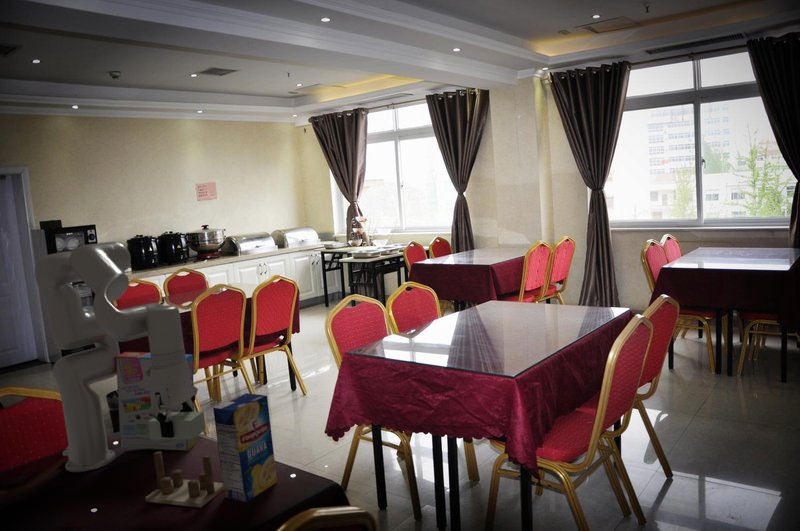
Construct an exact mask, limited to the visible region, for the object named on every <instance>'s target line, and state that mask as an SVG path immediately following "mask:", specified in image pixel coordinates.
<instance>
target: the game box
mask: <svg viewBox="0 0 800 531" xmlns="http://www.w3.org/2000/svg"><path fill="white" fill-rule="evenodd" d="M185 357H186V360H187V363H188V366H189V369H190V373H191V378H192V384H193V386H195V385H194V358H193V357H194V354H188V353H185ZM116 365H117V375H116V380H117V382H116V383H117V401H118V403H117V404H118V424H119V426H118V427H119V448H127V449H128V448H129V449H142V450H143V449H147V450H160V451H162V450H163V451H164V450H166V451H182V452H183V451H184V452H188V451H190V450H191V449H192V448H193V447H194V446H195V445H196V437H195V438H194V439H171V440H151V439H150V432H149V425H148V421H150V420H151V419H153V418H154V417H153V416H152V415H151V414H150V413H149V409H150V407H151V398H150V369H151V368H153V367H152V360H151V353H150V352H143V351H141V352H140V351H137V352H136V351H124V352H122V353H120V355H117V356H116ZM164 408H165V406H164ZM181 409H183V408H182V407H181V405H178V406H176V407H174V408H172V410H171V412H181ZM158 410H159V408H158ZM164 412H166V411H164ZM193 412H195V407H194V408H193Z"/></svg>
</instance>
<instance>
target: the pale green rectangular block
mask: <svg viewBox="0 0 800 531" xmlns="http://www.w3.org/2000/svg"><path fill="white" fill-rule="evenodd" d="M204 412H205V411H194V412H171V416H170V421H172V423H173V431H174V437H172V438H165V437H162V436H161V429H160V422H158V421H157V419H155V418H153V419H151V420H150V421H148V425H149V432H150V439H151V440H171V439H194V438H195V439H196V438H197V437H198V436H199V435H201V434H202V433H203V432H204V431H206V429H207V428H206V421H205V414H204ZM163 414H164V415H165V414H166V412H163Z"/></svg>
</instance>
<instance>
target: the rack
mask: <svg viewBox="0 0 800 531" xmlns="http://www.w3.org/2000/svg"><path fill="white" fill-rule="evenodd" d="M153 457H154V466H155V474H156V480H157V486H158V488H157V489H156V490H154V491H152V492H151V493H150V494H148V495H147V496H145V502H148V503H156V504H163V505H164V504H165V505H166V504H167V505H175V506H182V507H183V506H185V507H193V508H203V507H204V506H205V505H206V504H207V503H209V502H210V501H211V500H213V499H214V498H215V497H216V496H218V495H219V494H220V493H222V492H224V489H223V482H215V481H214V475H213V474H214V473H213V466H212V460H211V459H212V458H211V454H207V455H204V456H202V464H203V472H200V473H198V479H195V478H194V479H184V478H183V470H182V469H179V468H178V469H175V470H172V471H171V477H170V476H166V475H165V474H166V473H165V467H164V461H163V453H162V450H160V451H156V452H153Z"/></svg>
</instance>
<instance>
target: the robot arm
mask: <svg viewBox="0 0 800 531" xmlns="http://www.w3.org/2000/svg"><path fill="white" fill-rule="evenodd" d="M131 259H132V258H131V252H129V249H128V248H127V247H126V246H125V245H124V244H122V243H120V242H118V241H108V242H107V241H106V242H98V243H89V244H84V245H81V246H79V247H77V248H75V249H73V250H68V251H61V252H55V253H50V254H46V255H45V256H42V257H41V258H39V259H38V260H37V262H35V263H36V264H35V268H34V278H35V282H36V285H37V288H38V289H39V291H40V293H41V295H42V297H43V299H44V301H45V304H46V308H47V315H48V319H49V320H48V321H49V325H50V330H51V335H52V340H53V342H54V345H55V346H56V347H57V348H58V349H60V350H63V351H65V350H67V351H68V350H73V349H78V348H80V347H85V346H90V345H94V346H95V347H93V348H90V349H86V350H82V351H78V352H73V353H71V354H67V355H65V356H62V357H60V358H59V359H58V360H57V361H56V362H55V363H54V364H53V368H52V374H53V378H54V381H55V383H56V386H57V389H58V391H59V395H60V400H61V406H62V411H63V412H62V413H63V417H64V418H63V419H64V422H65V423H64V424H65V430H66V435H67V442H68V446H66V448H65V450H63V451H62V456H64V457H67V458H68V460H67V461H66V463H65V470H66V471H68V472H71V473H82V472H87V471H93V470H96V469H99V468H102V467H104V466H106V465H108V464H110V463H112V462H113V461H114V460H115V459H116V454H115V453H116V452H115V451H113V450H112V449H109V447H108V440H107V432H106V426H105V419H104V412H103V407H102V406H103V405H102V400H101V397H100V395H99V394H98V393H97V392H96V391H95V390H94V389H92V388H91V385H92V384H95V383H99V382H102V381H105V380H106V381H107V380H109V379H111V378H114V377H117V365H116V356H117V355H120V354H121V351H120V346H119V342H120V343H121V342H122V343H123V342H129V341H132V340H133V341H134V340H136V339H140V338H144V337H148V343H149V344H148V345H149V353H151V360H152V367H153V368H151V369H150V398H151V407H150V409H149V413H150V414H151V415H152V416H153V417H154V418H155V419H157V421H158V422H160V429H161V436H162V437H165V438H172V437H174V431H173V423H172V421H170V416H171V410H172V408H174V407H176V406H178V405H181V407H182V408H183V409H181V412H193V408H194V409H195V402H196V397H197V394H198V390H199V389H198V388H197V387H196V386H195V385H194V386H193V384H192V378H191V373H190V369H189V366H188V363H187V360H186V357H185V354H186V349H185V345H184V344H185V343H184V337H183V336H184V335H183V328H182V321H181V320H182V319H181V313H180V309H179V308H178V307H177V306H175V305H164V304H161V303H158V302H157V303H156V302H152V303H148V304H142V305H136V306H132V307H131V306H130V307H127V308H122V309H117V308H116V307H115V306H114V305H113V303H114V302H115V301H117V300H119V299H120V298H121V297H122V296H123V295H124V294H125V293H126V291H127V289H128V288H129V284H130V279H129V277H128V275H127V274H126V273H125V271H127V270H128V269H129V268H130V266H131V261H132V260H131ZM79 282H84V284H85V285H86V286H87V287H88V288H89V289H90V290H91V291H92V293H94V294H95V295H94V297H93V303H92V305H93V307H92V309H89V310H84V308H83V302H82V298H81V295H80V294H79V292H78V291H77V290H76V289H75V288H74V287H73V286H71V285H70V284H71V283H79ZM164 406H165V408H164ZM158 408H159V410H158ZM164 411H166V414H165V415H164V414H163V412H164Z"/></svg>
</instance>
